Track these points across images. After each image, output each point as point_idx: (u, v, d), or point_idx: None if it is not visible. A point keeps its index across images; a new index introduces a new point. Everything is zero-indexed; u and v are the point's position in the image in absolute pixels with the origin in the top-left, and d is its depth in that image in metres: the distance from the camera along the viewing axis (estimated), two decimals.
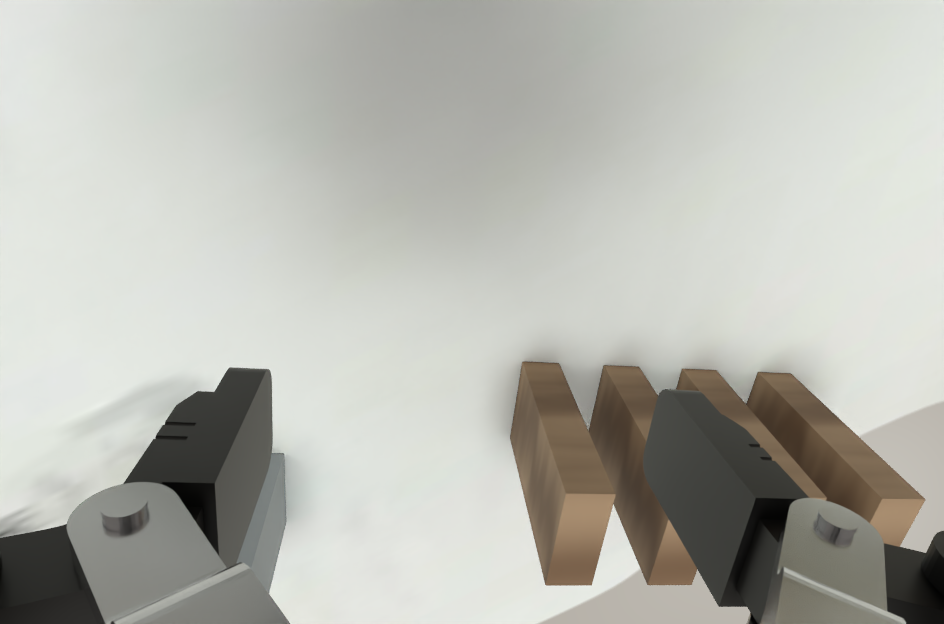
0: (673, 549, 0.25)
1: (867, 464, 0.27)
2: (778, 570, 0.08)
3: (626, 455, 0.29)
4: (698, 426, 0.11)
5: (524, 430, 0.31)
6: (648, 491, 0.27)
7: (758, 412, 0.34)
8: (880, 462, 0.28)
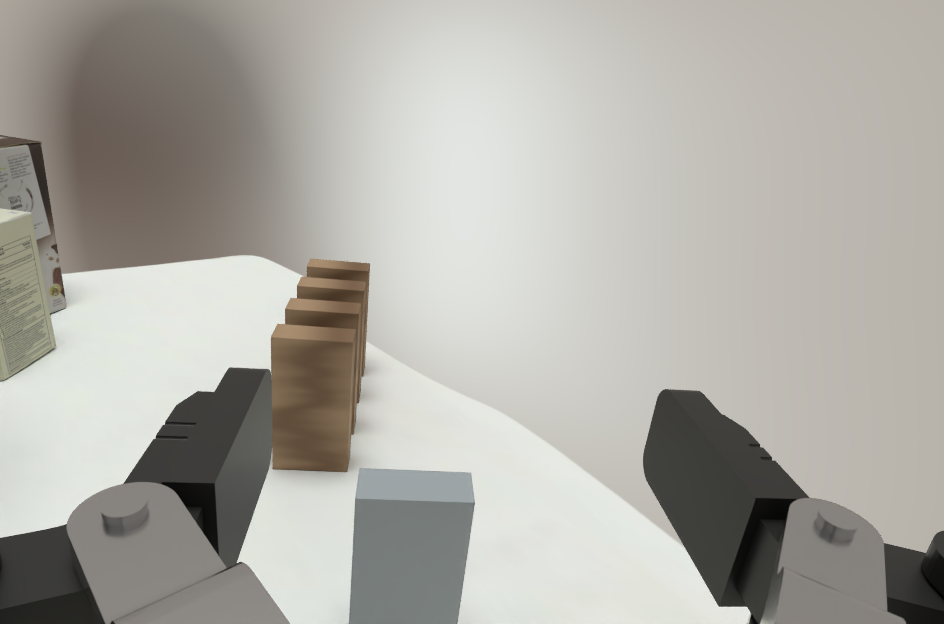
0: (329, 308, 0.43)
1: None
2: (778, 570, 0.08)
3: None
4: (698, 426, 0.11)
5: (310, 437, 0.41)
6: None
7: None
8: None
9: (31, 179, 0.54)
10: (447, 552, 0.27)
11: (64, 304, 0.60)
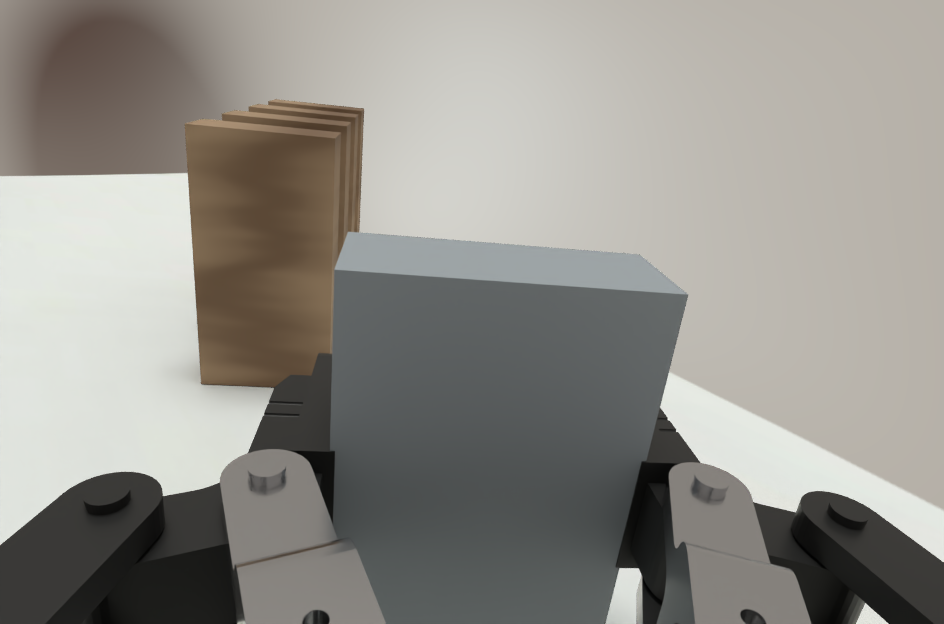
0: (298, 119, 0.26)
1: None
2: (674, 543, 0.08)
3: None
4: None
5: (263, 325, 0.24)
6: None
7: None
8: None
9: None
10: (594, 454, 0.10)
11: None
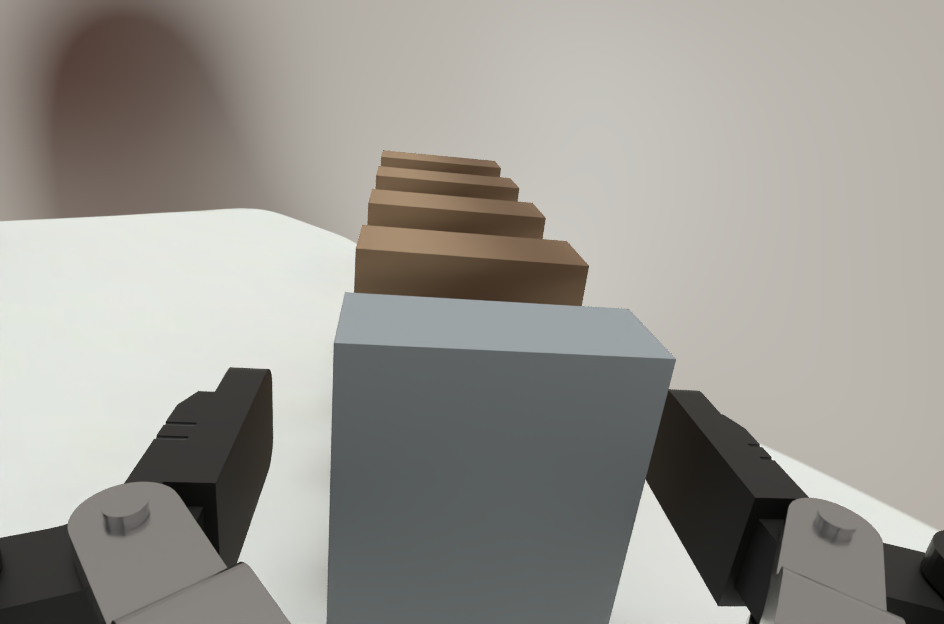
0: (471, 206, 0.18)
1: None
2: (777, 570, 0.08)
3: None
4: (698, 426, 0.11)
5: None
6: None
7: None
8: None
9: None
10: (586, 508, 0.10)
11: None
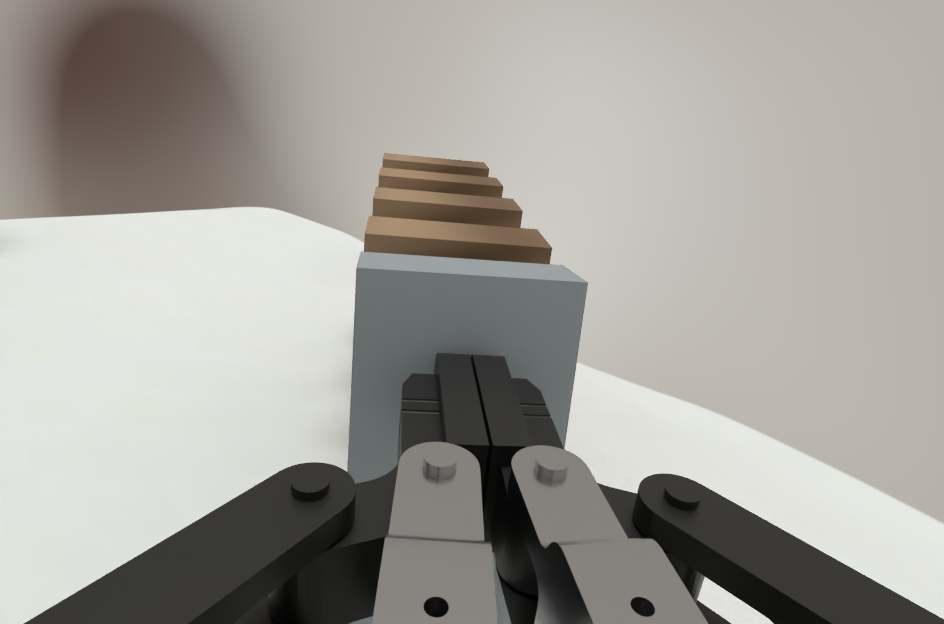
0: (459, 201, 0.21)
1: None
2: (540, 541, 0.08)
3: None
4: (480, 385, 0.12)
5: None
6: None
7: None
8: None
9: None
10: None
11: None
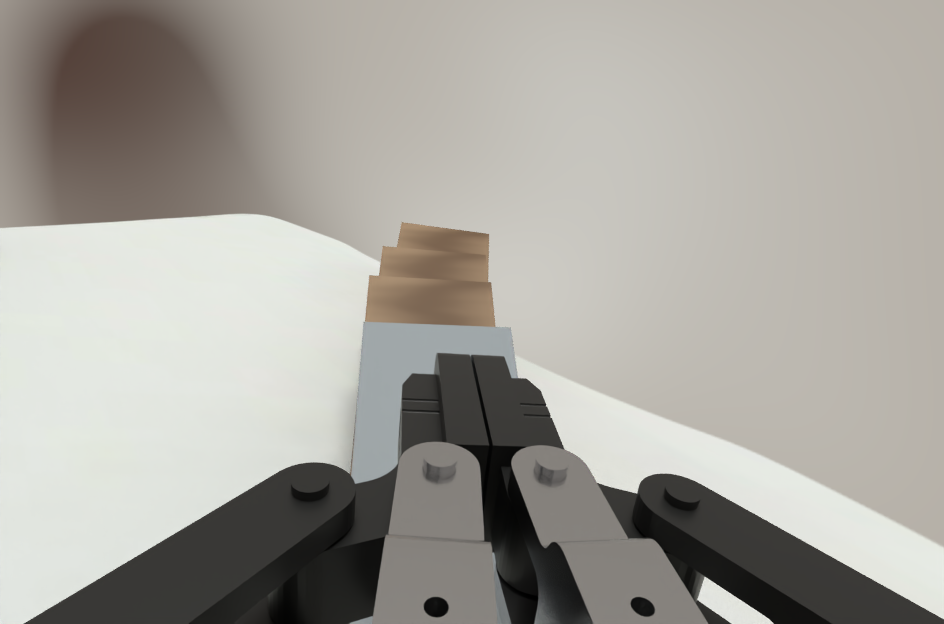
0: None
1: None
2: (540, 541, 0.08)
3: None
4: (480, 385, 0.12)
5: None
6: (414, 277, 0.28)
7: None
8: None
9: None
10: None
11: None
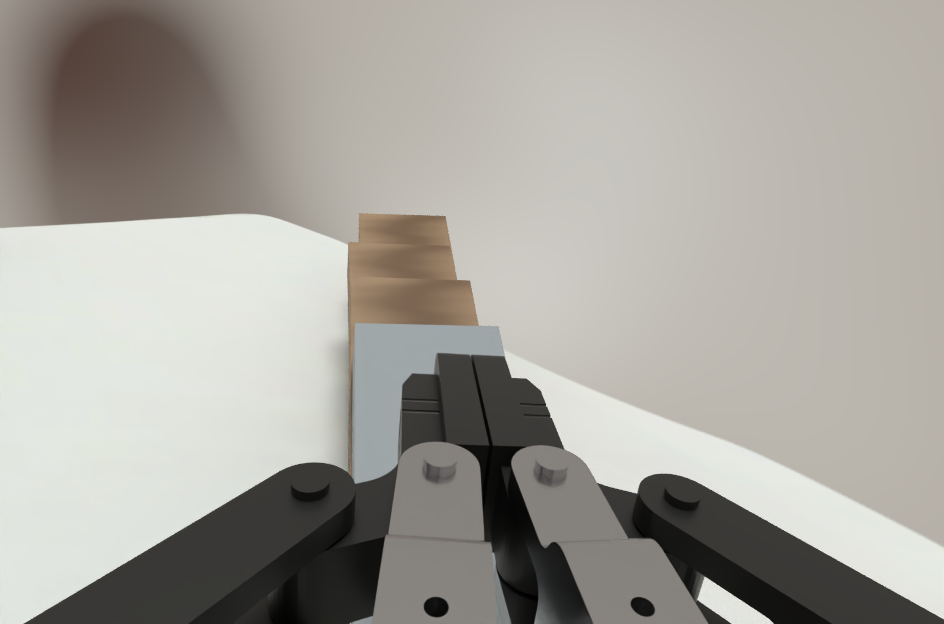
0: None
1: None
2: (540, 541, 0.08)
3: None
4: (480, 385, 0.12)
5: None
6: (384, 270, 0.28)
7: None
8: None
9: None
10: None
11: None
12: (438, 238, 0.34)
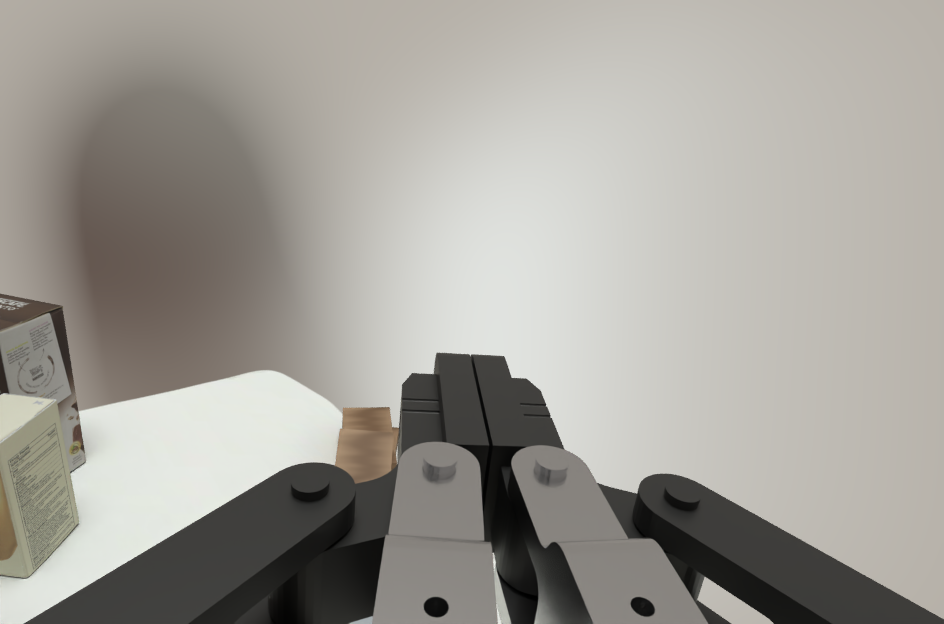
0: None
1: None
2: (540, 541, 0.08)
3: (356, 477, 0.54)
4: (480, 385, 0.12)
5: None
6: (355, 449, 0.56)
7: None
8: None
9: (52, 346, 0.52)
10: None
11: (83, 459, 0.58)
12: (385, 417, 0.65)
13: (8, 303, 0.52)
